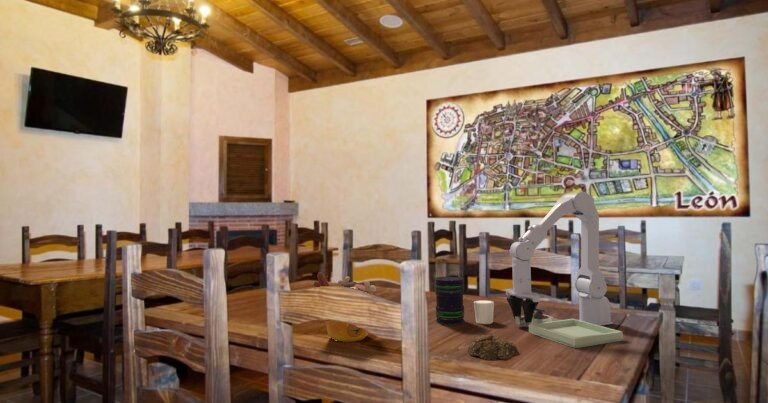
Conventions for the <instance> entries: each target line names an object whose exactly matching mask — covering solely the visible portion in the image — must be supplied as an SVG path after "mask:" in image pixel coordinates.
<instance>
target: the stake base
mask: <svg viewBox="0 0 768 403" xmlns="http://www.w3.org/2000/svg"><path fill="white" fill-rule="evenodd" d="M544 313H545V309H544V308H540V307H537V306H536V308H535V311H534V319H543V314H544ZM559 320H561V319H560V318H556V317H553V321H559ZM522 326H524V327H527V328H529V324H524V325H522Z"/></svg>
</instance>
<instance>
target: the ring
mask: <svg viewBox="0 0 768 403" xmlns="http://www.w3.org/2000/svg"><path fill="white" fill-rule="evenodd" d="M553 318H554V316H551V315H548V314H545V313H543V319H534V314H533V318H532V322H530V323H525V320H524V314H523V315H521V316H515V319H514V320H515V325H518V326H523V325H524V324H536V323H544V322H551V321H553Z"/></svg>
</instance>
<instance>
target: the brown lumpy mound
mask: <svg viewBox="0 0 768 403" xmlns="http://www.w3.org/2000/svg"><path fill="white" fill-rule="evenodd" d="M467 352H468V355H469V356H472V357H473V356H475V357H479V358H480V359H482V360H484V359H485V360H484V361H496V360H507V359H510V358H511V357H513V356H516V355H518V353H519V350H518V348H517V346H516V344H514V343H513V342H512V341H508V340H506V339H504V338H502V337H499V336H496V335H493V334H487V335H486V334H483V335H479V336H477V337H475V338H474V339H473V340H472V341H471V343H470V344H469V346H468V347H467ZM495 359H496V360H495Z"/></svg>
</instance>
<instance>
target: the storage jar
mask: <svg viewBox="0 0 768 403" xmlns="http://www.w3.org/2000/svg"><path fill="white" fill-rule="evenodd" d="M434 289H435V291H434V292H435V295H436V296H435V297H436V305H435V317H436V319H435V322H436V323H437V324H440V325H444V326H445V325H446V326H453V325H454V326H455V325H456V326H457V325H462V324H464V323H465V319H464V318H465V306H464V294H465V291H464V289H465V287H464V278H463V277H461V276H447V275H446V276H437V277H435V285H434Z"/></svg>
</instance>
